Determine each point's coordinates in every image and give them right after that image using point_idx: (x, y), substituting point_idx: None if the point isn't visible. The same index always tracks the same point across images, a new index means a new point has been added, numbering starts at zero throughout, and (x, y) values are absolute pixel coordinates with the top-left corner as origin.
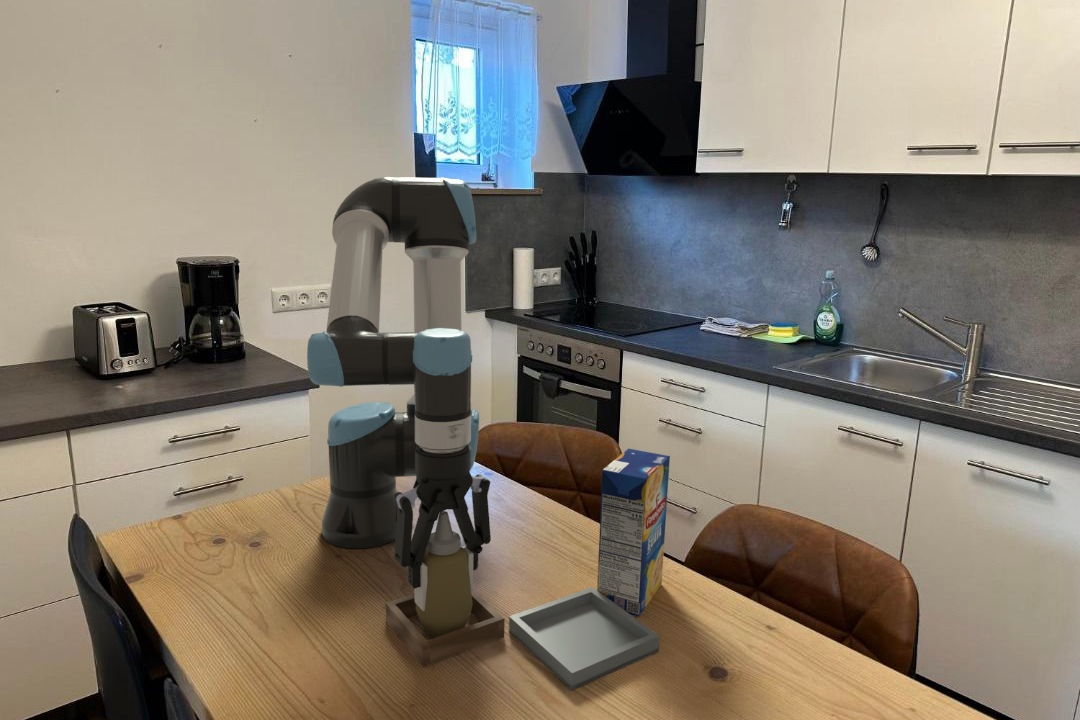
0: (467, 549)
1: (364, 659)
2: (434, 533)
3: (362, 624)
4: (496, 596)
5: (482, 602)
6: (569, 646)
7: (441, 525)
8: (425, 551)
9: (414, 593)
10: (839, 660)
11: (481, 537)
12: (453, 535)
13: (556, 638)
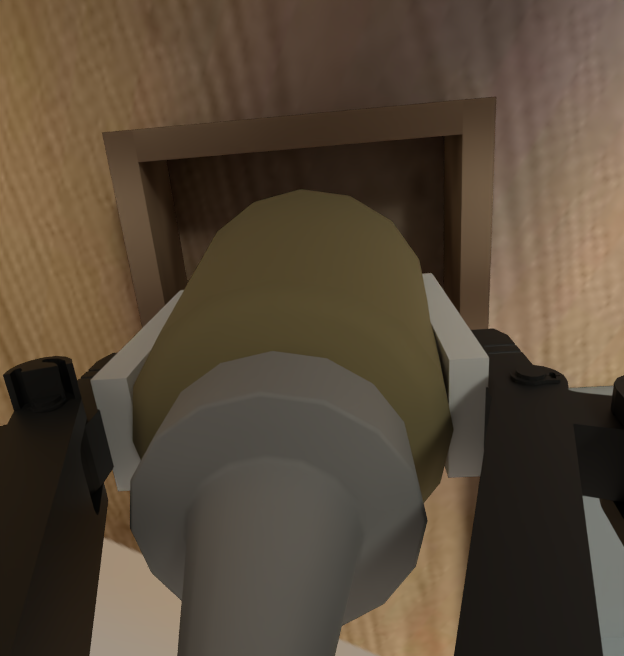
0: (478, 416)
1: (33, 311)
2: (217, 445)
3: (48, 107)
4: (597, 167)
5: (471, 322)
6: (595, 546)
7: None
8: (98, 564)
9: (168, 303)
10: None
11: (611, 502)
12: (357, 564)
13: (591, 502)
